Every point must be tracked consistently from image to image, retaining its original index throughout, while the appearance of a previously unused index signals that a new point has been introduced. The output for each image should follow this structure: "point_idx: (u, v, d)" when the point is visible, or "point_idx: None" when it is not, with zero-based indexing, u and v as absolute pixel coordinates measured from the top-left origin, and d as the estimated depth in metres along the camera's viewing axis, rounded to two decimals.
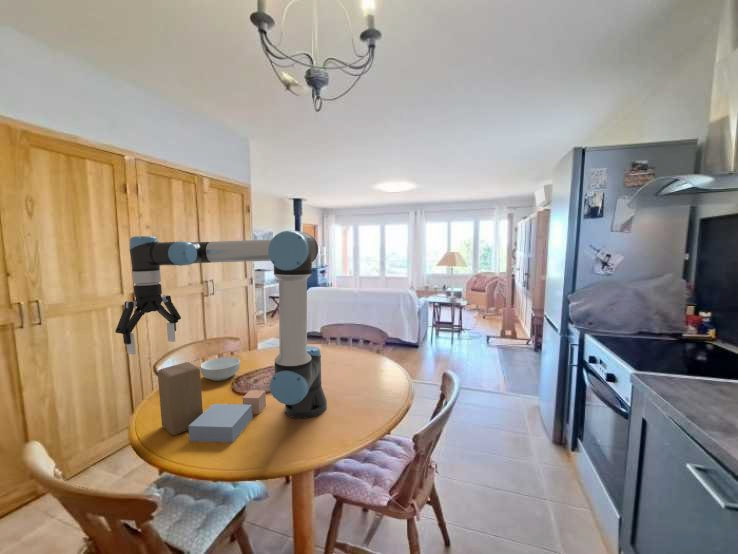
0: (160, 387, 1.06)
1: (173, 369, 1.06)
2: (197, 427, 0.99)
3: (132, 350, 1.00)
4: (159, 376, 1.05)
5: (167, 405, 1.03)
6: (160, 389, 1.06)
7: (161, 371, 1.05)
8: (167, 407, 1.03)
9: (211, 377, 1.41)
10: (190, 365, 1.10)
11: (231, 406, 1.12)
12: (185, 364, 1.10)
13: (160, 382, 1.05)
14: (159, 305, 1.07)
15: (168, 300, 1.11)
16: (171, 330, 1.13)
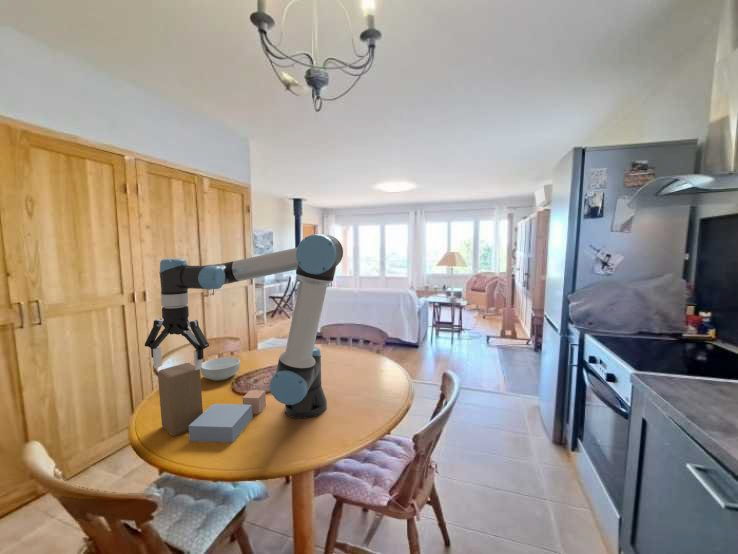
0: (160, 388, 1.06)
1: (173, 370, 1.06)
2: (197, 427, 0.99)
3: None
4: (159, 377, 1.05)
5: (167, 406, 1.03)
6: (160, 390, 1.06)
7: (161, 372, 1.05)
8: (167, 408, 1.03)
9: (211, 377, 1.41)
10: (190, 366, 1.10)
11: (231, 406, 1.12)
12: (185, 365, 1.10)
13: (160, 383, 1.05)
14: (179, 329, 1.04)
15: (191, 326, 1.05)
16: None
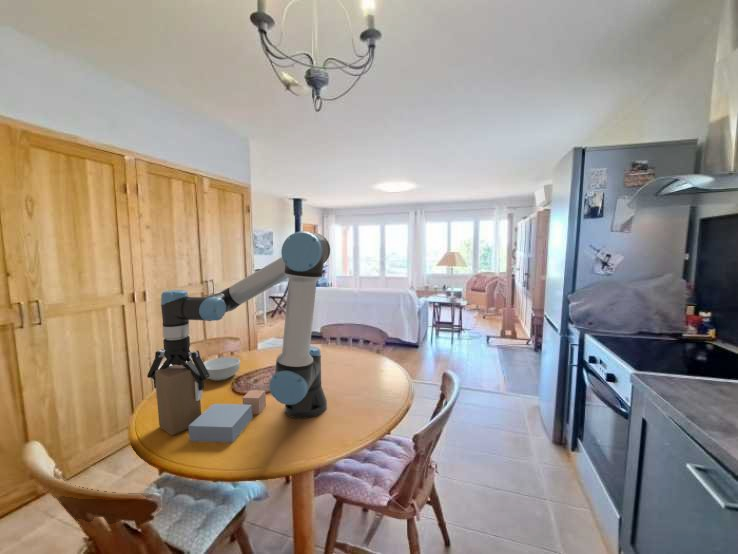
0: (158, 387, 1.05)
1: (171, 369, 1.06)
2: (197, 427, 0.99)
3: None
4: (157, 376, 1.05)
5: (166, 405, 1.03)
6: (158, 389, 1.05)
7: (159, 371, 1.05)
8: (166, 407, 1.03)
9: (211, 377, 1.41)
10: None
11: (231, 406, 1.12)
12: None
13: (158, 382, 1.05)
14: (180, 360, 1.06)
15: (192, 357, 1.06)
16: None
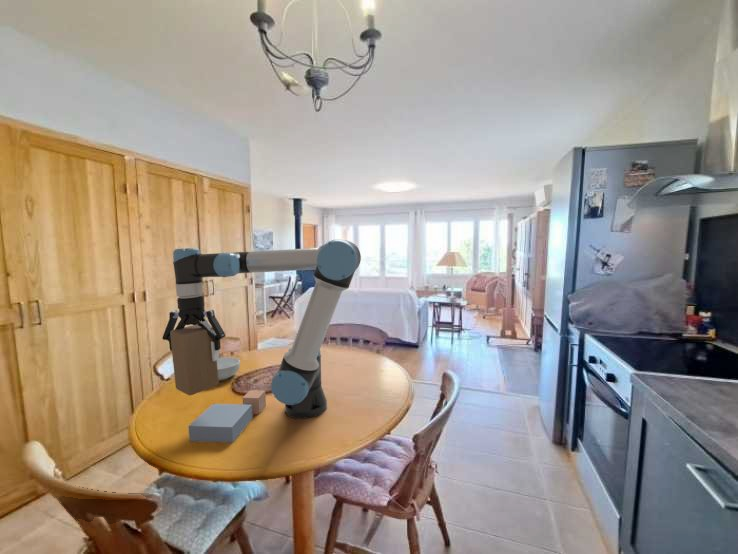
0: (173, 348, 1.03)
1: (187, 329, 1.03)
2: (197, 427, 0.99)
3: None
4: (172, 336, 1.02)
5: (182, 365, 1.00)
6: (173, 350, 1.03)
7: (174, 331, 1.02)
8: (182, 367, 1.00)
9: None
10: None
11: (231, 406, 1.12)
12: (197, 326, 1.08)
13: (173, 342, 1.02)
14: (195, 320, 1.03)
15: (207, 316, 1.03)
16: None
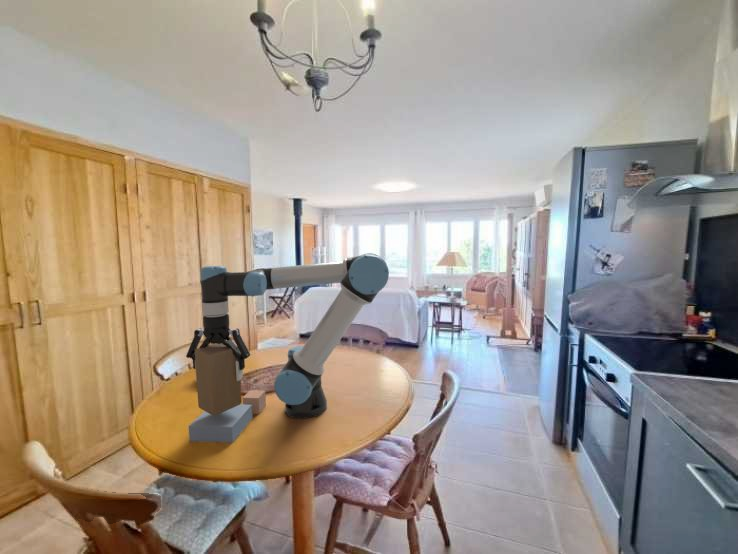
0: (198, 367, 1.01)
1: (212, 348, 1.02)
2: (197, 427, 0.99)
3: None
4: (197, 355, 1.01)
5: (207, 385, 0.99)
6: (198, 369, 1.01)
7: (199, 350, 1.01)
8: (207, 387, 0.99)
9: None
10: None
11: None
12: (221, 344, 1.06)
13: (198, 361, 1.01)
14: (221, 339, 1.02)
15: (233, 335, 1.02)
16: None
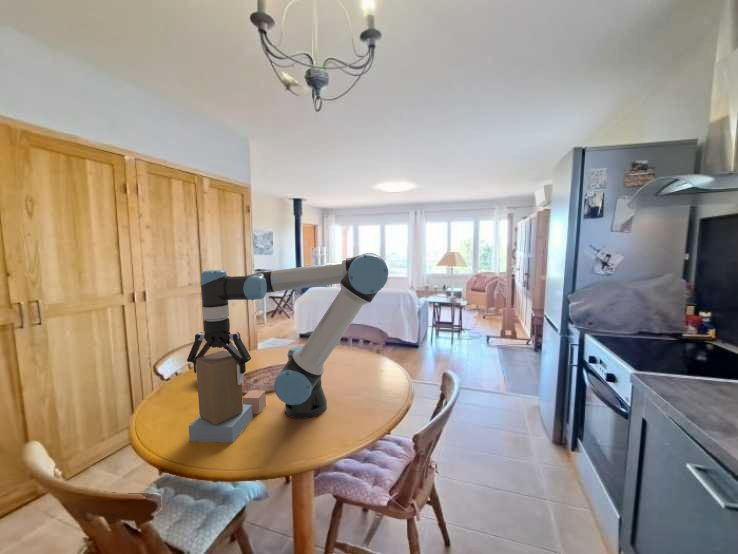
0: (199, 376, 1.01)
1: (213, 357, 1.02)
2: (197, 427, 0.99)
3: None
4: (198, 364, 1.01)
5: (209, 394, 0.99)
6: (199, 378, 1.02)
7: (200, 359, 1.01)
8: (209, 396, 0.99)
9: None
10: (228, 353, 1.06)
11: None
12: (223, 352, 1.07)
13: (200, 371, 1.01)
14: (221, 343, 1.02)
15: (233, 339, 1.02)
16: None
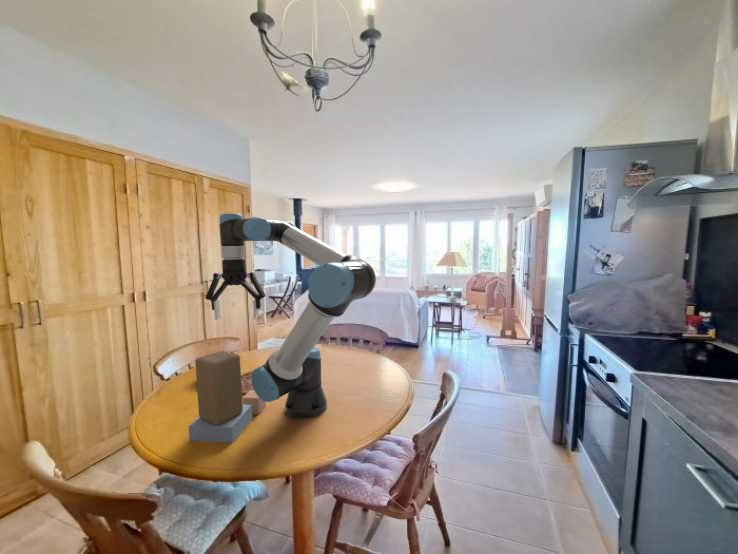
0: (199, 376, 1.01)
1: (213, 357, 1.02)
2: (197, 427, 0.99)
3: None
4: (198, 365, 1.01)
5: (209, 394, 0.99)
6: (199, 379, 1.01)
7: (200, 360, 1.01)
8: (209, 396, 0.99)
9: None
10: (228, 353, 1.06)
11: None
12: (222, 353, 1.07)
13: (199, 371, 1.01)
14: (239, 280, 1.12)
15: (250, 277, 1.12)
16: None
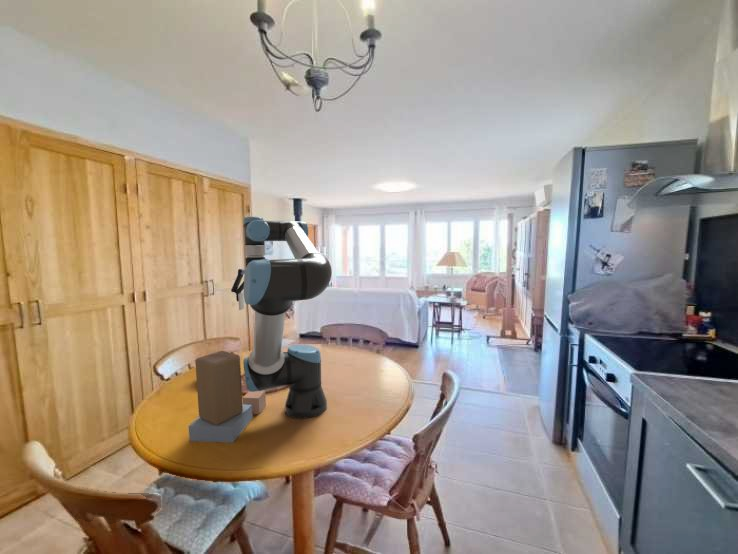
0: (199, 376, 1.01)
1: (213, 357, 1.02)
2: (197, 427, 0.99)
3: None
4: (198, 365, 1.01)
5: (209, 394, 0.99)
6: (199, 379, 1.01)
7: (200, 360, 1.01)
8: (209, 396, 0.99)
9: None
10: (228, 353, 1.06)
11: None
12: (222, 353, 1.07)
13: (199, 371, 1.01)
14: None
15: None
16: None
